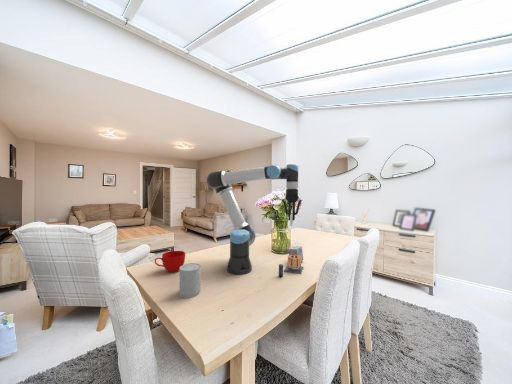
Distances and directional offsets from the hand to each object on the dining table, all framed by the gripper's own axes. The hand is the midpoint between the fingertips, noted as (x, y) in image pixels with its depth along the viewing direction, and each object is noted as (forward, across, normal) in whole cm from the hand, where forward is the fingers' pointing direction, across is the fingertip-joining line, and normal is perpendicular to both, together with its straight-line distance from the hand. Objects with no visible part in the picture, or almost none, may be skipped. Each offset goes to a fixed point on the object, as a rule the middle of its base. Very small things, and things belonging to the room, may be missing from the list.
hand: (291, 225), depth 135 cm
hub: (+26, +3, -5) cm, 27 cm away
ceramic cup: (+27, -65, -36) cm, 79 cm away
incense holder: (+27, +1, +9) cm, 28 cm away
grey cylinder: (+27, -37, -53) cm, 70 cm away
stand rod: (+26, -2, -18) cm, 32 cm away
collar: (+23, +3, -5) cm, 24 cm away
